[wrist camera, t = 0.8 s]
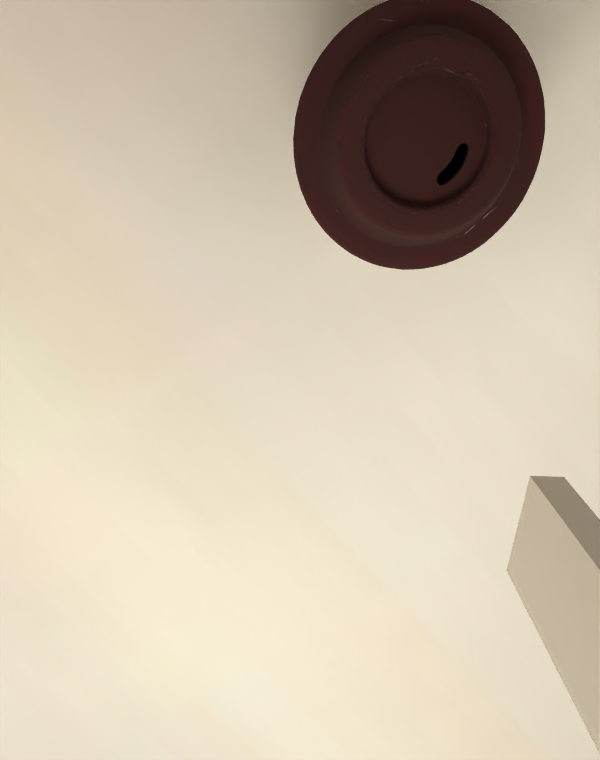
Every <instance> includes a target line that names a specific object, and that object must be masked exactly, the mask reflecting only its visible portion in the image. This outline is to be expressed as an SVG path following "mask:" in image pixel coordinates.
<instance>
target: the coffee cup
mask: <svg viewBox="0 0 600 760" xmlns="http://www.w3.org/2000/svg"><path fill="white" fill-rule="evenodd" d="M544 133H545V108H544V97H543V92H542V88H541V83H540V80H539V76H538V72H537V70H536V67H535V65H534V62H533V60H532V58H531V56H530V54H529V52H528V50H527V49H526V47H525V45H524V44H523V42H522V41H521V39H520V38H519V37H518V35H517V34H516V33H515V32H514V31H513V29H512V28H511V27H510V26H509V25H508V24H507V23H505V22H504V21H503V20H502V19H501V18H499V17H498V16H497V15H496V14H494V13H493V12H492V11H491V10H489V9H487V8H485V7H483V6H482V5H480V4H478V3H475V2H473V1H471V0H389V1H386V2H383V3H381V4H379V5H377V6H375V7H373V8H371V9H369V10H367V11H366V12H364V13H363V14H361V15H360V16H358V17H357V18H355V19H354V20H353V21H352V22H350V23H349V24H348V25H347V26H346V27H344V28H343V29H342V30H341V31H340V32H339V33H338V34H337V35H336V36H335V37H334V38H333V40H332V41H331V42H330V43H329V45H328V46H327V47H326V48H325V50H324V51H323V52H322V54H321V55H320V57H319V58H318V60H317V62H316V63H315V65H314V66H313V68H312V70H311V72H310V74H309V76H308V78H307V81H306V83H305V86H304V89H303V91H302V94H301V97H300V100H299V105H298V109H297V113H296V118H295V128H294V138H293V142H294V161H295V168H296V174H297V177H298V181H299V185H300V188H301V191H302V194H303V196H304V198H305V201H306V203H307V205H308V207H309V209H310V211H311V213H312V214H313V216H314V218H315V219H316V221H317V222H318V223H319V225H320V226H321V227H322V229H323V230H324V231H325V232H326V233H327V234H328V235H329V236H330V237H331V238H332V239H333V240H334V241H335V242H336V243H337V244H338V245H340V246H341V247H342V248H344V249H345V250H347V251H348V252H349V253H351V254H353V255H355V256H357V257H358V258H360V259H362V260H364V261H367V262H369V263H372V264H375V265H378V266H382V267H388V268H395V269H403V270H404V269H423V268H429V267H434V266H438V265H442V264H446V263H448V262H451V261H454V260H456V259H458V258H461V257H463V256H465V255H466V254H468V253H470V252H472V251H473V250H475V249H476V248H478V247H479V246H481V245H482V244H484V243H485V242H486V241H487V240H488V239H490V238H491V237H492V236H493V235H494V234H495V233H496V232H497V231H498V230H499V229H500V228H501V227H502V226H503V225H504V224H505V223H506V222H507V221H508V220H509V218H510V217H511V216H512V215H513V213H514V212H515V211H516V209H517V208H518V206H519V205H520V203H521V202H522V200H523V198H524V196H525V195H526V193H527V191H528V189H529V186H530V184H531V182H532V180H533V178H534V175H535V172H536V169H537V166H538V163H539V160H540V156H541V151H542V146H543V140H544Z"/></svg>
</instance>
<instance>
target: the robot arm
mask: <svg viewBox="0 0 600 760" xmlns="http://www.w3.org/2000/svg"><path fill="white" fill-rule="evenodd" d="M507 572H508V574H509V576H510V578H511V580H512V582H513V584H514V586H515V588H516V590H517V592H518V594H519V596H520V598H521V600H522V602H523V604H524V606H525V608H526V610H527V612H528V614H529V615H530V617H531V619H532V621H533V623H534V625H535V627H536V629H537V631H538V633H539V635H540V637H541V639H542V641H543V643H544V645H545V647H546V649H547V651H548V653H549V655H550V657H551V659H552V661H553V663H554V665H555V667H556V669H557V671H558V673H559V675H560V677H561V679H562V680H563V682H564V684H565V686H566V688H567V690H568V692H569V694H570V696H571V698H572V700H573V702H574V704H575V706H576V708H577V710H578V712H579V714H580V716H581V718H582V720H583V722H584V724H585V726H586V728H587V730H588V732H589V734H590V736H591V738H592V740H593V742H594V744H595V745H596V747H597V749H598V751H599V753H600V520H599V518H598V517H597V516H596V515H595V514H594V512H593V511H592V510H591V509H590V508H589V506H588V505H587V504H586V503H585V502H584V500H583V499H582V498H581V497H580V496H579V495H578V493H577V492H576V491H575V490H574V489H573V487H572V486H571V485H570V484H569V483H568V481H567V480H566V479H565V478H564V477H546V476H530V479H529V483H528V487H527V491H526V495H525V499H524V503H523V507H522V511H521V515H520V519H519V523H518V527H517V531H516V535H515V539H514V543H513V547H512V551H511V555H510V560H509V564H508V568H507Z"/></svg>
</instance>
